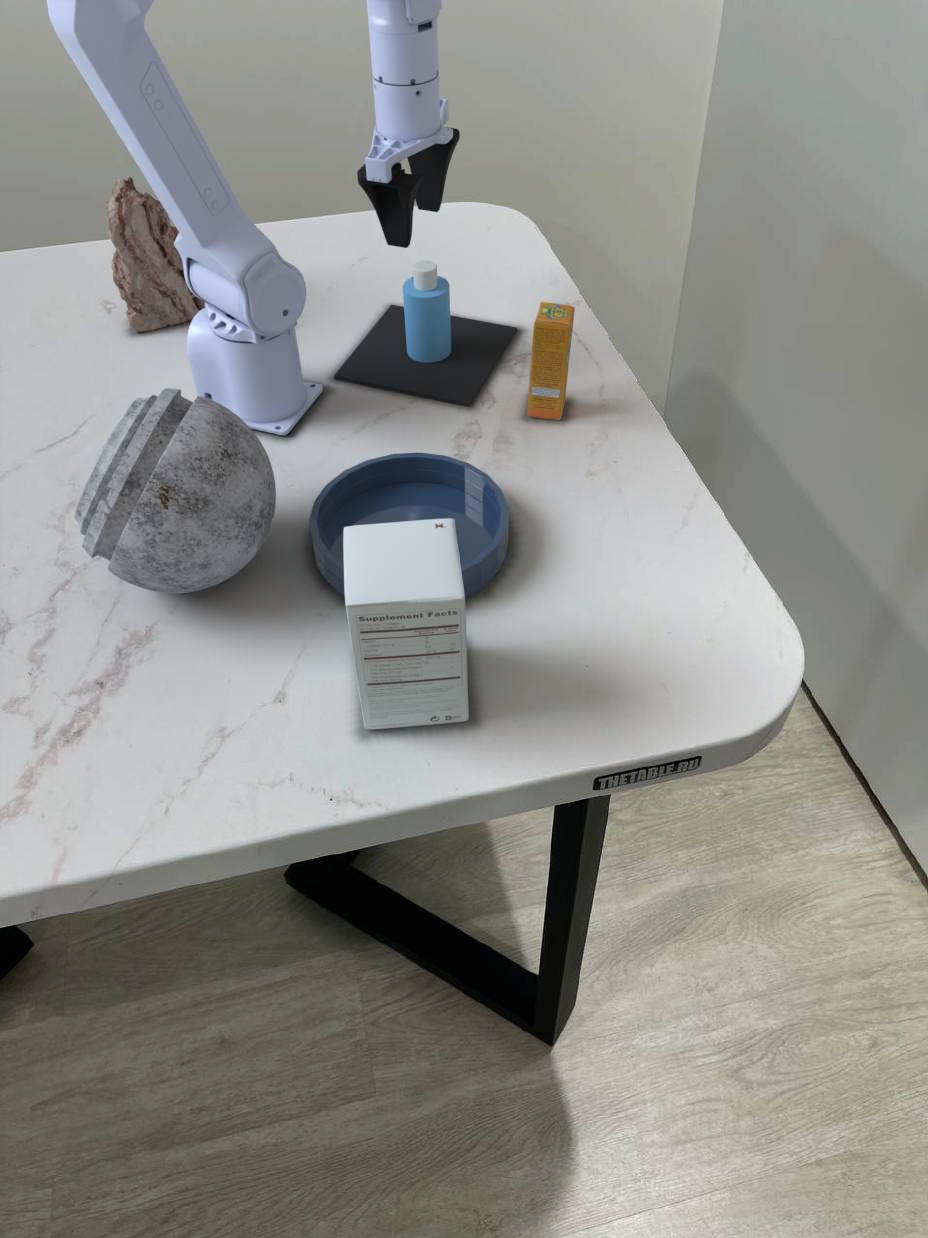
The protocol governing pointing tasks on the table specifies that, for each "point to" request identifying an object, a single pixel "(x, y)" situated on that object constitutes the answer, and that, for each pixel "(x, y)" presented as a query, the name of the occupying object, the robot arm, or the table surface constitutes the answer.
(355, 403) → the table surface
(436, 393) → the mat
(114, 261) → the stone
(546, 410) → the supplement box
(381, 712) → the white packaging box
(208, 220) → the robot arm
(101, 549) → the decorative orb
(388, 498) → the bowl
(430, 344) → the bottle
